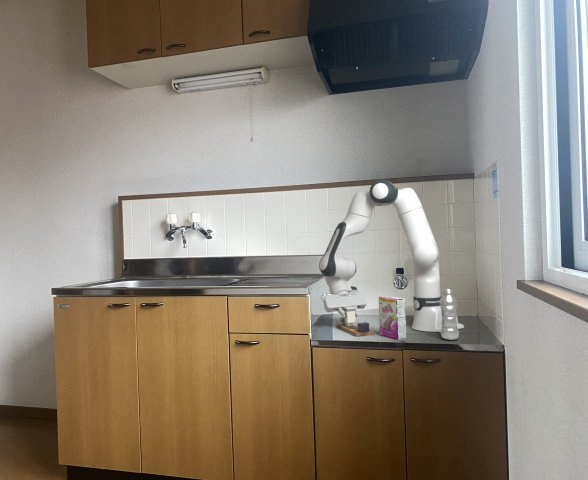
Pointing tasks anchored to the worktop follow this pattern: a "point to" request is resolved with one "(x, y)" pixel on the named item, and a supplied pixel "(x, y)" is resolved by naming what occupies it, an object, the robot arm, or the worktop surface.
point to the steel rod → (360, 326)
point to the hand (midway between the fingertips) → (350, 316)
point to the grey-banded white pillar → (349, 315)
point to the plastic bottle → (449, 315)
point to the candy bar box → (392, 317)
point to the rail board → (352, 329)
